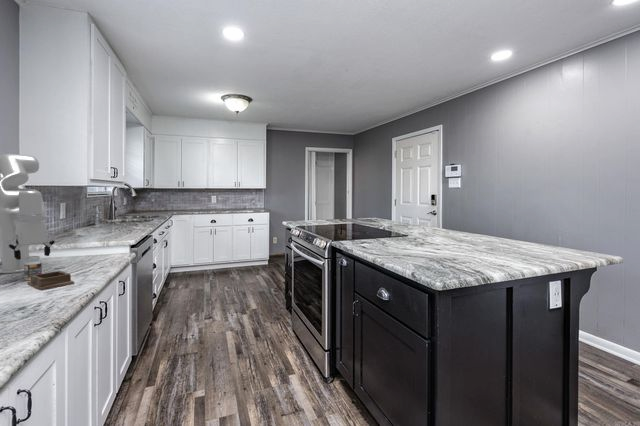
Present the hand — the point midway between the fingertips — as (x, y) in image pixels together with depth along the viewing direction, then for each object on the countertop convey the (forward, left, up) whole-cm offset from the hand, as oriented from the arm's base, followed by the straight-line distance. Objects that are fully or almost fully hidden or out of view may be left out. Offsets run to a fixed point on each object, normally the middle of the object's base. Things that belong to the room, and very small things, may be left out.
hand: (33, 257), depth 137 cm
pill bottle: (-1, 0, -10) cm, 10 cm away
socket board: (+15, +1, -10) cm, 18 cm away
